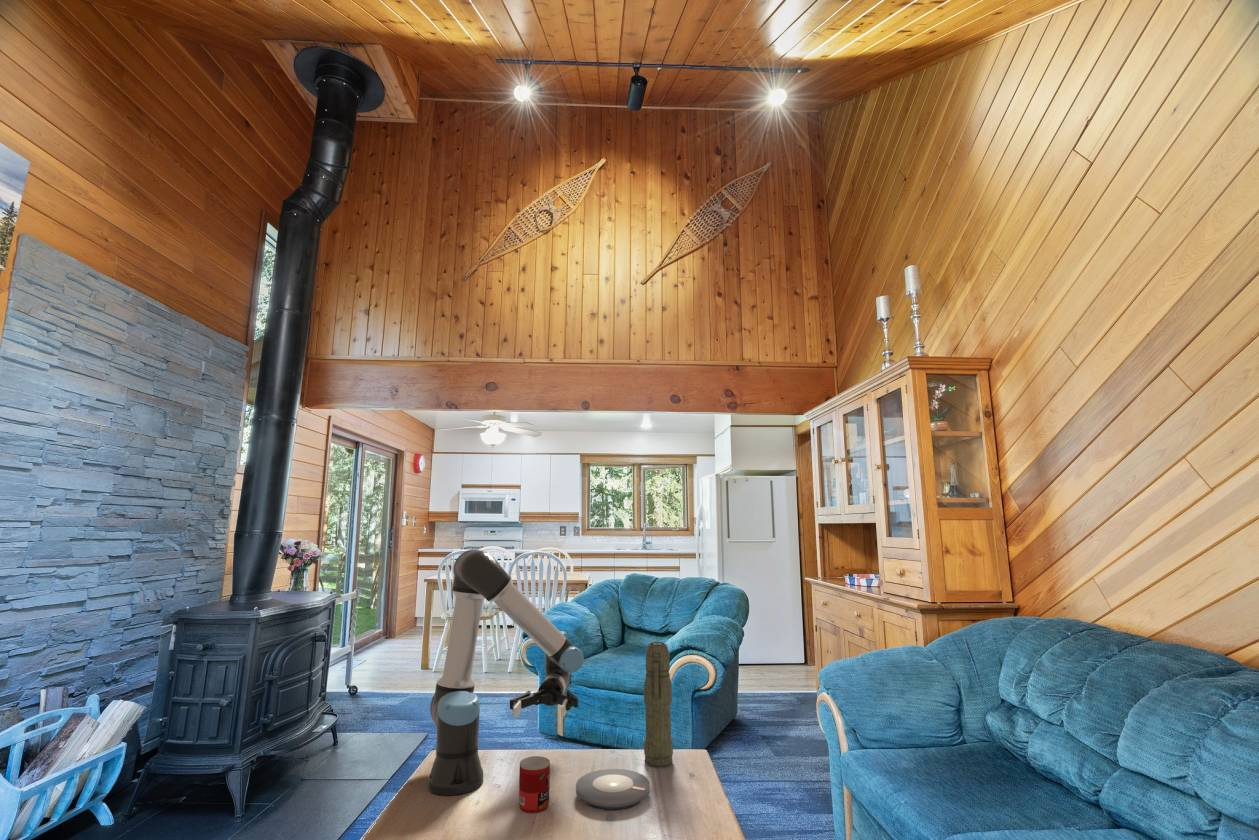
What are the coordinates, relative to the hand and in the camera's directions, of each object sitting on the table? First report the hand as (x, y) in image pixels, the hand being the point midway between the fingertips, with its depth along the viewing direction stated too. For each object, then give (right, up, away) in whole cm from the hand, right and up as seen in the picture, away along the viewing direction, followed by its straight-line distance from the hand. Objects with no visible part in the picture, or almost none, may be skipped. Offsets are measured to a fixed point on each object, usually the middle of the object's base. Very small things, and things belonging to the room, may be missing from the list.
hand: (538, 712), depth 170 cm
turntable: (+21, -18, -6) cm, 28 cm away
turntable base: (+21, -20, -6) cm, 30 cm away
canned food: (+1, -19, -12) cm, 23 cm away
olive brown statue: (+35, -24, +17) cm, 45 cm away
